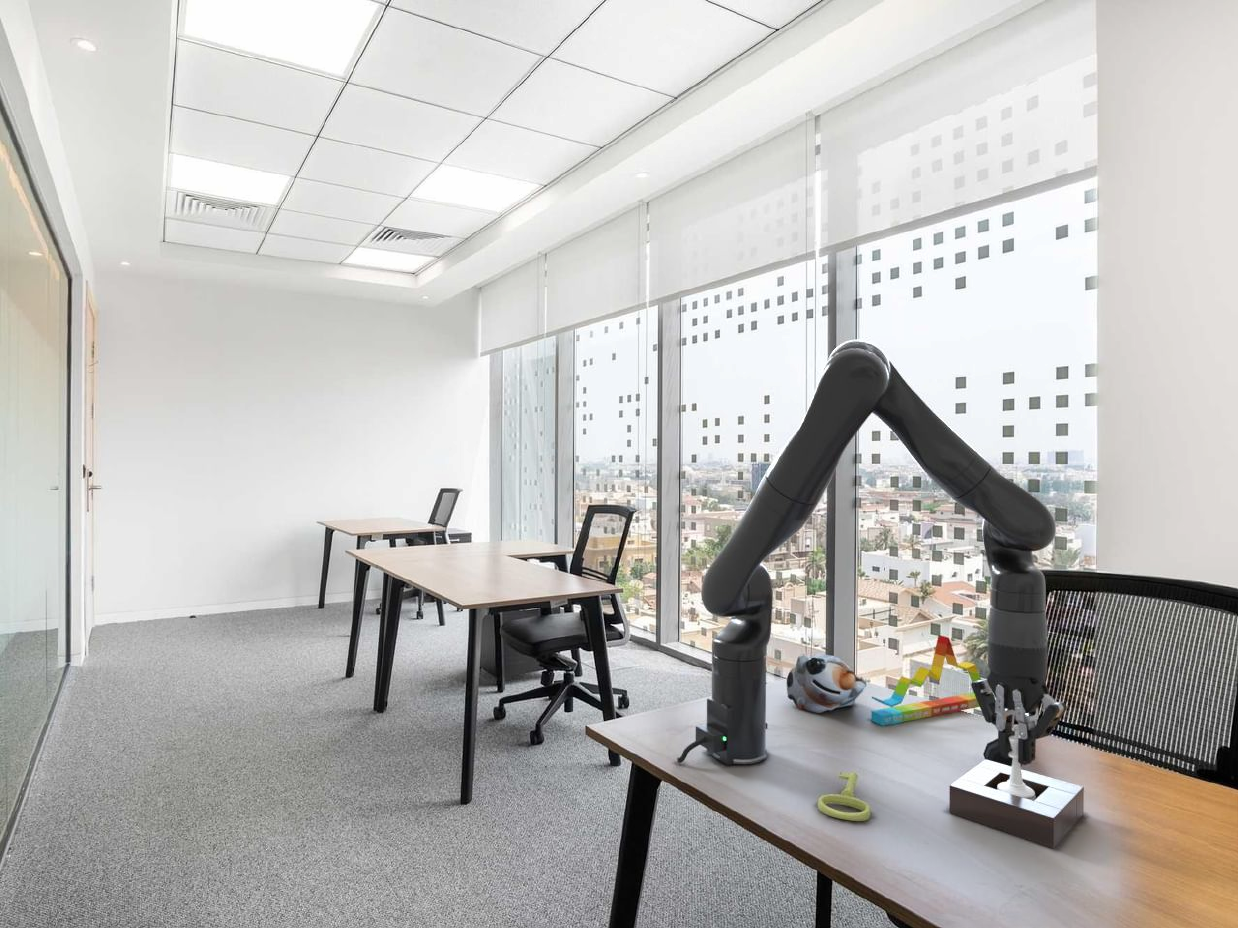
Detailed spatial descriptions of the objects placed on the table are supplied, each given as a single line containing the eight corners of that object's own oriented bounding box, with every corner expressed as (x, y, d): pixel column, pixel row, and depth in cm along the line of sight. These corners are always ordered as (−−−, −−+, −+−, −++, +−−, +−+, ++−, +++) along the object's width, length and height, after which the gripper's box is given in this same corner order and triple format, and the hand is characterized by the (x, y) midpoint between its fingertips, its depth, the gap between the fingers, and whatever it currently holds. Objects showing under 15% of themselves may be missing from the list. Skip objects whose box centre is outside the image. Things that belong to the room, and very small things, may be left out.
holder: (1053, 848, 97) (1053, 818, 97) (949, 812, 107) (949, 785, 107) (1083, 814, 106) (1083, 786, 106) (985, 784, 116) (985, 758, 116)
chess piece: (998, 798, 105) (999, 728, 105) (995, 784, 110) (996, 716, 110) (1038, 804, 103) (1038, 733, 103) (1033, 790, 108) (1034, 721, 108)
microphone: (1001, 755, 135) (988, 781, 118) (991, 722, 136) (977, 744, 120) (1034, 752, 132) (1026, 778, 116) (1023, 718, 134) (1013, 739, 117)
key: (857, 784, 116) (857, 770, 116) (873, 823, 104) (873, 808, 104) (809, 781, 117) (809, 768, 117) (820, 819, 105) (820, 804, 105)
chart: (883, 725, 141) (883, 647, 141) (871, 720, 144) (871, 643, 144) (995, 704, 154) (995, 632, 154) (981, 699, 157) (982, 629, 157)
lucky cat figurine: (860, 699, 157) (877, 649, 150) (848, 738, 147) (865, 688, 140) (791, 670, 162) (805, 622, 155) (775, 707, 153) (788, 657, 146)
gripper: (1081, 647, 102) (1080, 772, 102) (989, 626, 114) (988, 739, 114) (1048, 653, 98) (1047, 783, 99) (957, 632, 111) (956, 747, 111)
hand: (1016, 759), depth 107 cm, fingers closed on chess piece
